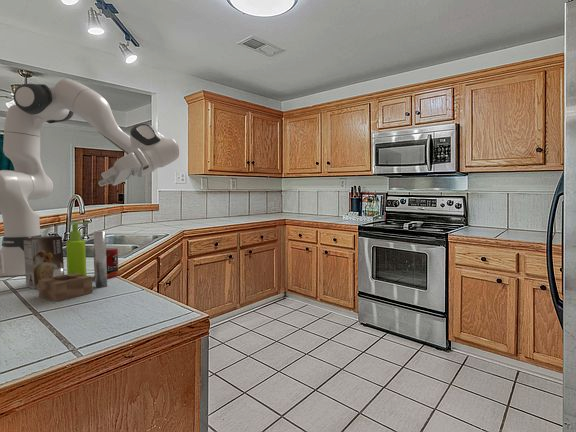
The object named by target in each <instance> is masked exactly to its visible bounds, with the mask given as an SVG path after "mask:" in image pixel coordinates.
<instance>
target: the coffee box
mask: <svg viewBox="0 0 576 432" xmlns="http://www.w3.org/2000/svg"><path fill="white" fill-rule="evenodd" d="M23 243H24V258H25V274H26V275H25V287H26V288H31V289H34V290H37V289H38V290H39V285H38V280H40V279H46V278H51V277H52V269H53V268H59V267H63V268H64V269H65V265H64V250H63V247H64V246H63V236H60V235H47V236H45V235H43V236H42V237H33V238H23Z"/></svg>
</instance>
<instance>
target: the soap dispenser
mask: <svg viewBox="0 0 576 432" xmlns="http://www.w3.org/2000/svg"><path fill="white" fill-rule="evenodd" d="M69 225H70V226H71V227H72V230H71V231H70V232H69V240H68V241H66V245H65V246H66V247H65V249H66V269H67V270H66V271H67V274H72V273H75V274H80V275H85V276H87V260H86V259H87V255H86V240H84V239H82V232H81V231H80V230H79V225H88V222H85V221H84V222H83V221H76V222H69Z"/></svg>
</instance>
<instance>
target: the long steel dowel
mask: <svg viewBox="0 0 576 432" xmlns="http://www.w3.org/2000/svg"><path fill="white" fill-rule="evenodd" d="M106 234H107V233H106V231H105V230H104V231H103V230H101V231H100V230H99V231H98V230H97V231H96V230H95V231H93V261H94V260H95V273H94V283H95V285H94V287H95V288H105V287H107V286H108V279H107V264H106V246H107V244H106V243H107V240H106V239H107V237H106Z"/></svg>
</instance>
